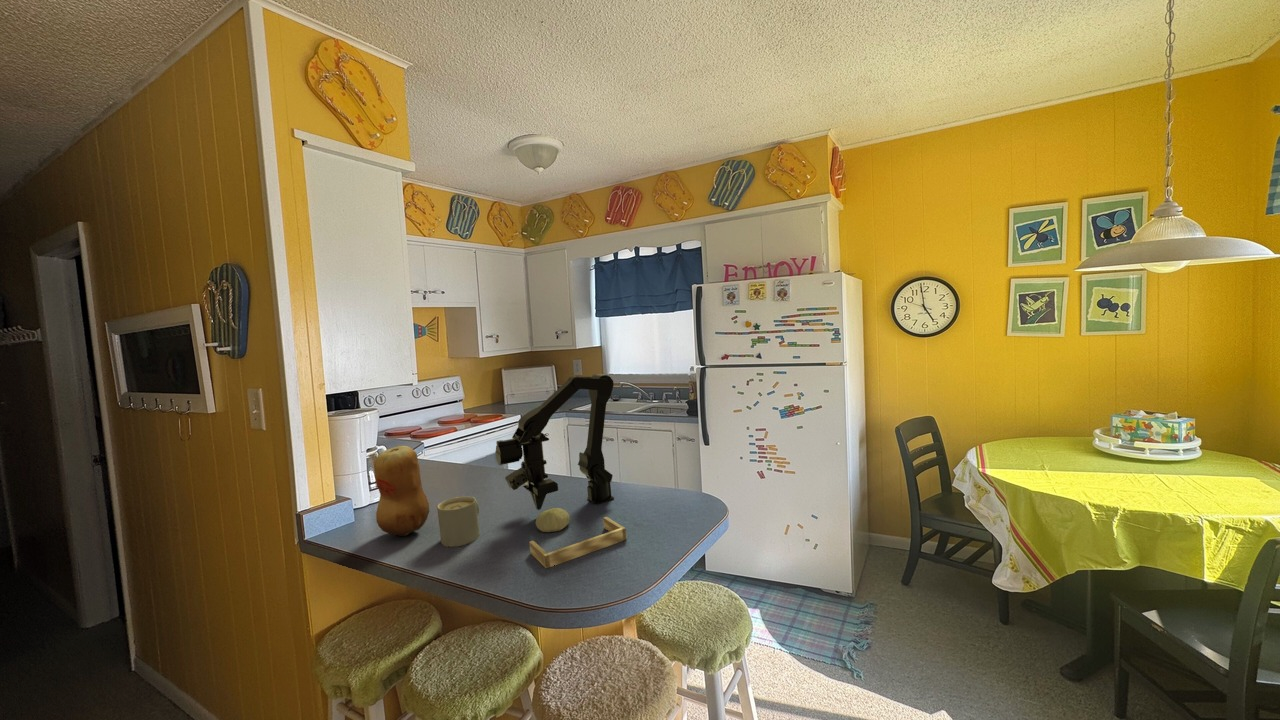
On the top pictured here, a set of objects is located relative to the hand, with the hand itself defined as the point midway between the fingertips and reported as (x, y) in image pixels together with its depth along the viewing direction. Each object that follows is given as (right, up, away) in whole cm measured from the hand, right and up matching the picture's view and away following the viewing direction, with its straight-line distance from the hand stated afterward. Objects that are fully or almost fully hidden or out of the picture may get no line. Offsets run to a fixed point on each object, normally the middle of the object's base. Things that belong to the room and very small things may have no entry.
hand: (538, 509), depth 149 cm
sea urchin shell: (+6, -3, -8) cm, 11 cm away
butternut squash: (-37, -6, -5) cm, 38 cm away
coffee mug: (-18, -5, -10) cm, 21 cm away
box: (+15, -3, -22) cm, 26 cm away
